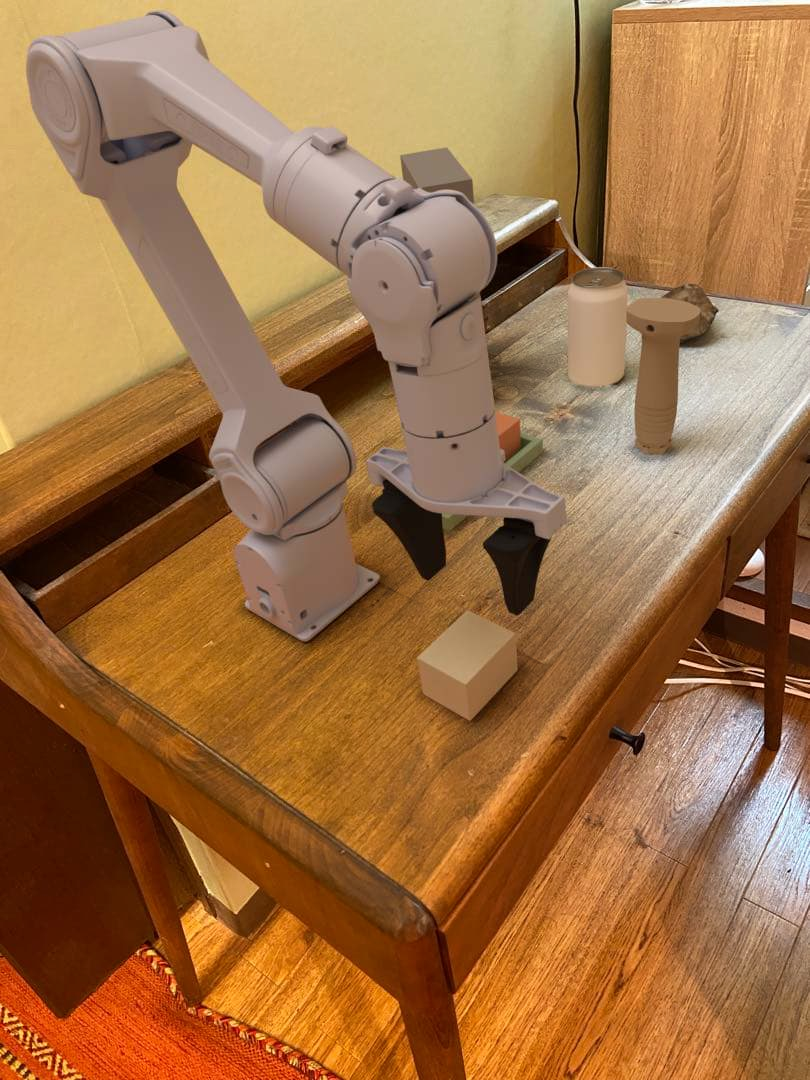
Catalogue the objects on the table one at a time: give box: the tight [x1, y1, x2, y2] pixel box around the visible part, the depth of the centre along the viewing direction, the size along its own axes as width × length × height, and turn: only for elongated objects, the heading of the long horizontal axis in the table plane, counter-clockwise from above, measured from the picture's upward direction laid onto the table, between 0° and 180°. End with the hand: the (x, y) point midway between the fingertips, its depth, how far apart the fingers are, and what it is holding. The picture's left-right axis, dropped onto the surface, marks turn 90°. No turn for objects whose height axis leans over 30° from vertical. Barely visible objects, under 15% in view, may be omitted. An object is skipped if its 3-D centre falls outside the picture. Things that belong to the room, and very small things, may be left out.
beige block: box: [416, 609, 519, 722], centre depth 61 cm, size 6×4×4 cm
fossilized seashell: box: [660, 283, 720, 343], centre depth 101 cm, size 8×7×10 cm
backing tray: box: [442, 431, 544, 532], centre depth 82 cm, size 16×8×2 cm, turn 139°
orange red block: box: [495, 411, 521, 464], centre depth 83 cm, size 6×4×4 cm
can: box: [567, 266, 629, 387], centre depth 93 cm, size 6×6×12 cm
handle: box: [626, 297, 701, 456], centre depth 78 cm, size 5×6×15 cm
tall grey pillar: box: [399, 147, 493, 384], centre depth 91 cm, size 14×6×25 cm, turn 8°
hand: (476, 588), depth 57 cm, fingers open, 7 cm apart
